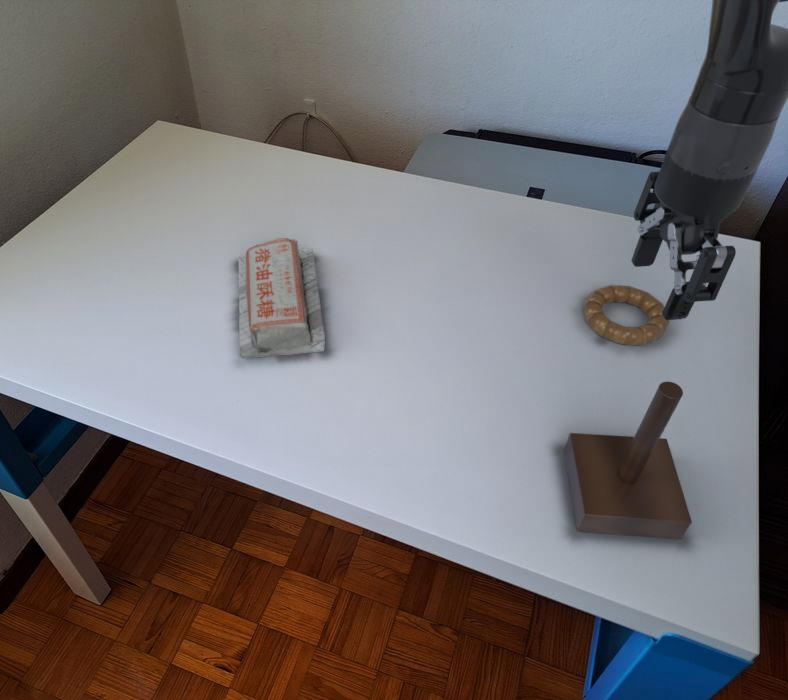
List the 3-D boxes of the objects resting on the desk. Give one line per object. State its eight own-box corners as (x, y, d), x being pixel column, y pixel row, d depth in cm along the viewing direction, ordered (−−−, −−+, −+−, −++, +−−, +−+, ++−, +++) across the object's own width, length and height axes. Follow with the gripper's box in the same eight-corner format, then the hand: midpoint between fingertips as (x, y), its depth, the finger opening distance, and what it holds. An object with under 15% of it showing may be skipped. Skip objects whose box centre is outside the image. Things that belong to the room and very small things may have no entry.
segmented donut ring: (654, 296, 83) (659, 283, 82) (673, 350, 77) (679, 337, 76) (577, 293, 84) (580, 280, 83) (589, 346, 78) (593, 333, 77)
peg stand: (657, 456, 67) (714, 351, 57) (680, 539, 61) (750, 439, 50) (563, 450, 68) (602, 346, 57) (577, 532, 62) (623, 431, 51)
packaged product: (325, 323, 75) (235, 332, 75) (327, 353, 79) (240, 362, 78) (312, 226, 88) (234, 233, 87) (313, 256, 91) (239, 263, 91)
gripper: (798, 195, 56) (721, 334, 68) (719, 111, 66) (664, 246, 78) (707, 201, 56) (646, 339, 68) (642, 116, 66) (598, 250, 77)
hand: (656, 289), depth 73 cm, fingers open, 8 cm apart
